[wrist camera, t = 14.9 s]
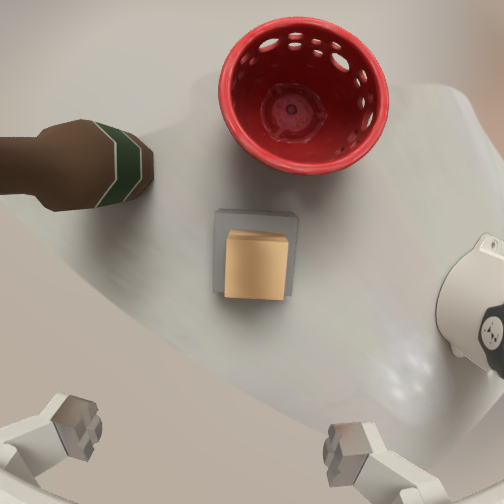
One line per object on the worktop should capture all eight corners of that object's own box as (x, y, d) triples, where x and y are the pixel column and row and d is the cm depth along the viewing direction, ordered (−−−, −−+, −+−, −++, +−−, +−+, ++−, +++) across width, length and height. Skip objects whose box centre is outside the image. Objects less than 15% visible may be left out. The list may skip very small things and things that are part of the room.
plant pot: (223, 69, 30) (209, 20, 19) (338, 62, 30) (375, 18, 18) (235, 182, 33) (227, 183, 22) (353, 172, 33) (401, 170, 21)
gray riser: (293, 213, 34) (298, 217, 30) (287, 283, 36) (291, 295, 32) (219, 208, 34) (215, 212, 30) (216, 279, 36) (212, 291, 32)
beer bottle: (167, 145, 32) (24, 98, 9) (144, 211, 34) (-10, 271, 11) (109, 127, 32) (-53, 86, 8) (88, 190, 33) (-79, 219, 10)
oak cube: (282, 232, 30) (288, 242, 26) (278, 281, 32) (283, 300, 27) (230, 229, 30) (226, 239, 26) (228, 279, 32) (224, 297, 27)
